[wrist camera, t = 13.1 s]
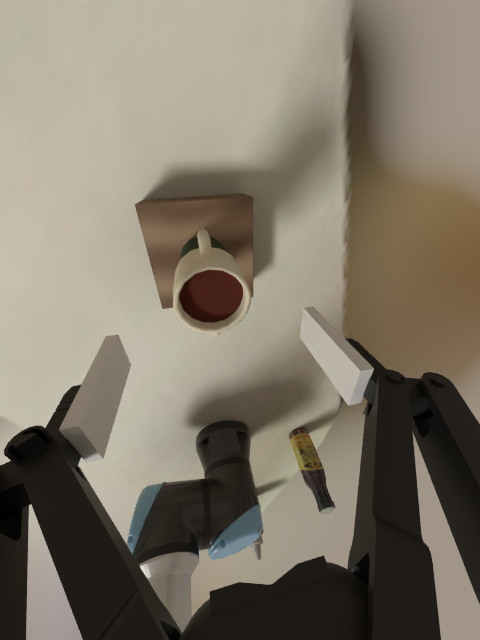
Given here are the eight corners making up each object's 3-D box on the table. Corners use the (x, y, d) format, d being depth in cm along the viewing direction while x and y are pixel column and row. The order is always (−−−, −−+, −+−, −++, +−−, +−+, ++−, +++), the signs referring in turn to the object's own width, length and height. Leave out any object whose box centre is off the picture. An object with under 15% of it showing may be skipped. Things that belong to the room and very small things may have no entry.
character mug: (231, 290, 34) (252, 343, 24) (184, 296, 33) (183, 354, 23) (226, 212, 28) (250, 235, 18) (168, 217, 27) (157, 244, 17)
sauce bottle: (309, 426, 70) (346, 502, 54) (303, 437, 74) (336, 513, 57) (290, 428, 69) (322, 507, 52) (284, 440, 72) (313, 518, 56)
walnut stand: (246, 284, 40) (253, 296, 36) (165, 294, 38) (162, 308, 34) (243, 194, 32) (252, 196, 28) (141, 200, 30) (134, 204, 26)
